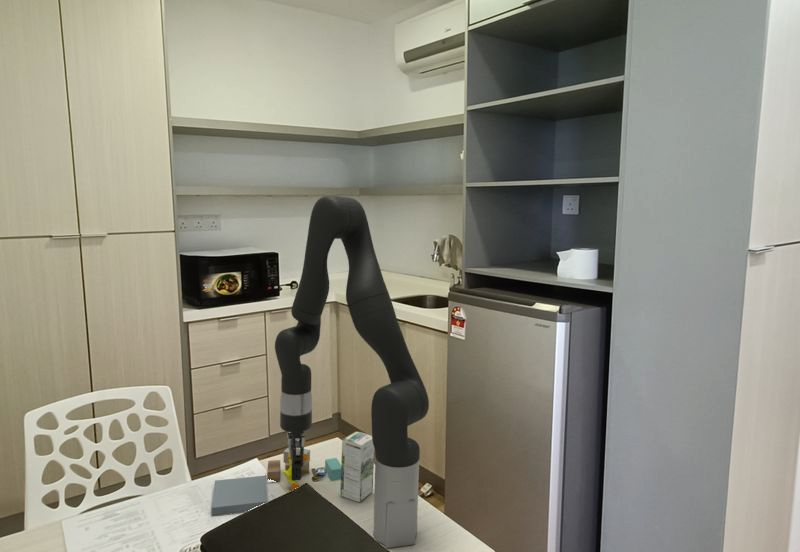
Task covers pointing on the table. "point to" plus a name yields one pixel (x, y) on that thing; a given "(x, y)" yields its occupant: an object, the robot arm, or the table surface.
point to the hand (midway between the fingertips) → (295, 474)
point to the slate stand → (238, 495)
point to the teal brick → (333, 468)
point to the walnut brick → (273, 470)
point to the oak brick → (303, 469)
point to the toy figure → (289, 471)
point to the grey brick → (304, 453)
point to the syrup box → (357, 466)
